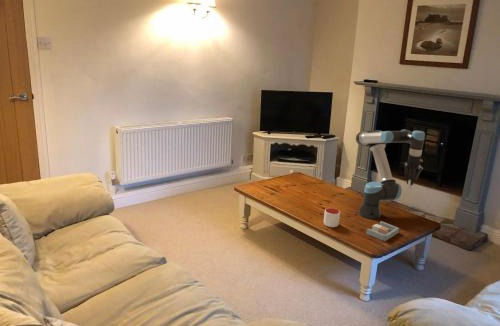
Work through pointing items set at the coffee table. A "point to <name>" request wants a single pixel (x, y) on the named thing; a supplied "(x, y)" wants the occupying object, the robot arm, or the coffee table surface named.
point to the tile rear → (376, 227)
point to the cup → (331, 217)
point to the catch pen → (380, 236)
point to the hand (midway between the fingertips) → (408, 189)
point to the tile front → (383, 230)
